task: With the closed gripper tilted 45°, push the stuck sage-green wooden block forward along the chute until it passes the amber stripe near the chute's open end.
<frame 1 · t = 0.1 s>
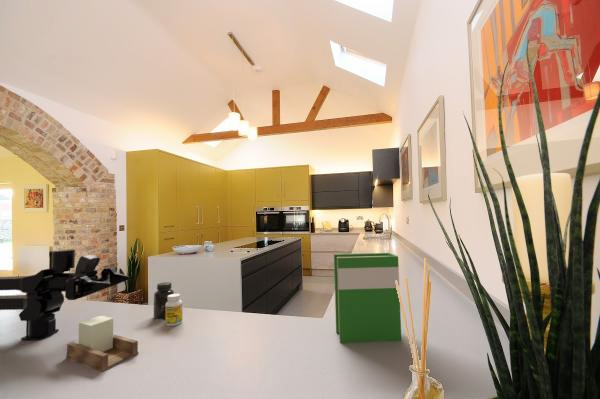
hand: (120, 281, 89), 17 cm above the countertop, tool horizontal, fingers open, 9 cm apart
supplement bottle: (163, 316, 103), on the countertop
supplement bottle 2: (174, 323, 96), on the countertop
hardback book: (367, 336, 83), on the countertop
sage block: (96, 335, 76), point 5 cm above the countertop, slide at 0.0 cm
chute: (95, 354, 75), on the countertop
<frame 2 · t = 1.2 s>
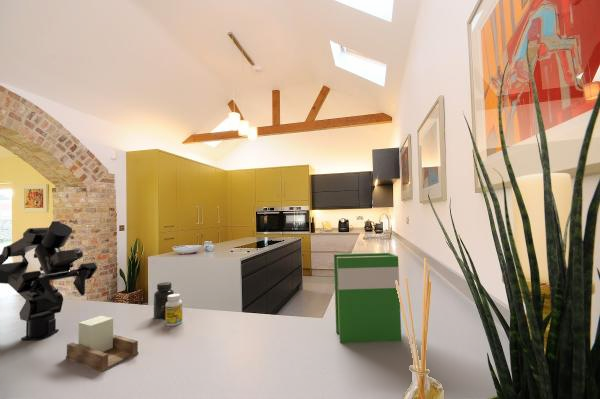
hand: (70, 297, 82), 14 cm above the countertop, tool tilted 45°, fingers open, 7 cm apart
nothing on the countertop moved.
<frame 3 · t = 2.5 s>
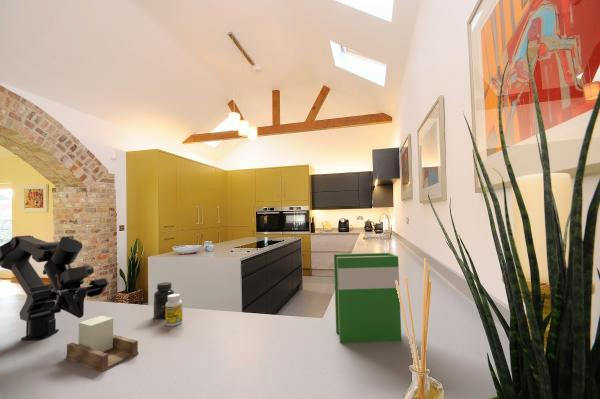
hand: (81, 316, 79), 9 cm above the countertop, tool tilted 45°, fingers closed
nothing on the countertop moved.
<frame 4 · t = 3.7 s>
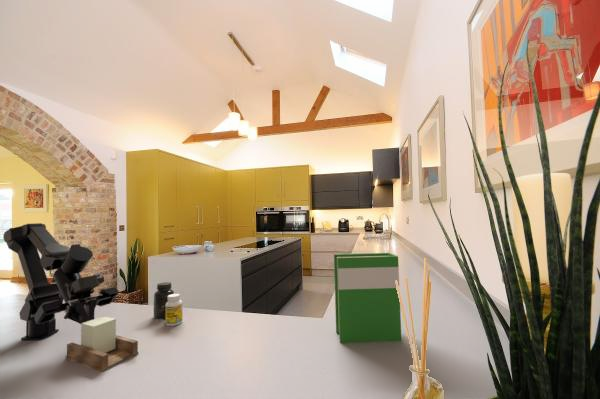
hand: (92, 327, 77), 7 cm above the countertop, tool tilted 45°, fingers closed, pressing on sage block
sage block: (98, 336, 75), point 5 cm above the countertop, slide at 1.2 cm, touching gripper
everything else where it was.
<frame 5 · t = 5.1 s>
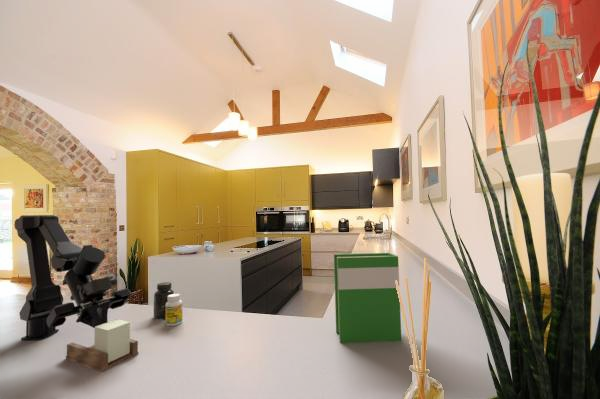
hand: (105, 331, 74), 7 cm above the countertop, tool tilted 45°, fingers closed, pressing on sage block
sage block: (112, 340, 73), point 5 cm above the countertop, slide at 7.3 cm, touching gripper
everything else where it was.
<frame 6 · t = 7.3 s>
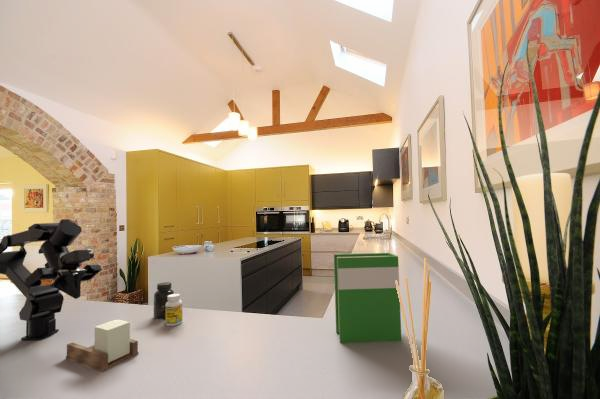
hand: (77, 297, 82), 13 cm above the countertop, tool tilted 40°, fingers closed
sage block: (112, 340, 73), point 5 cm above the countertop, slide at 7.3 cm
everything else where it was.
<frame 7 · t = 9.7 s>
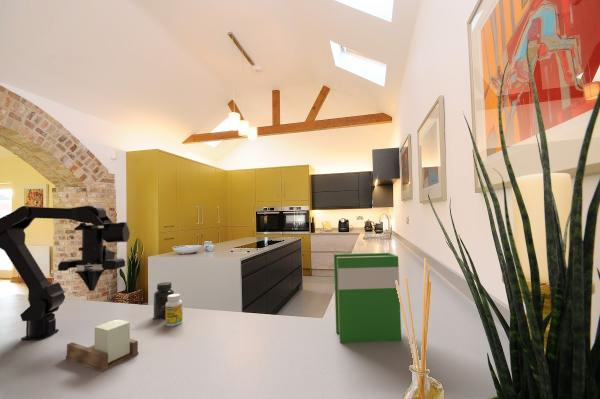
hand: (92, 290, 92), 13 cm above the countertop, tool pointing down, fingers closed
nothing on the countertop moved.
at the end: sage block slide at 7.3 cm; supplement bottle moved 0.2 cm from its start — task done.
